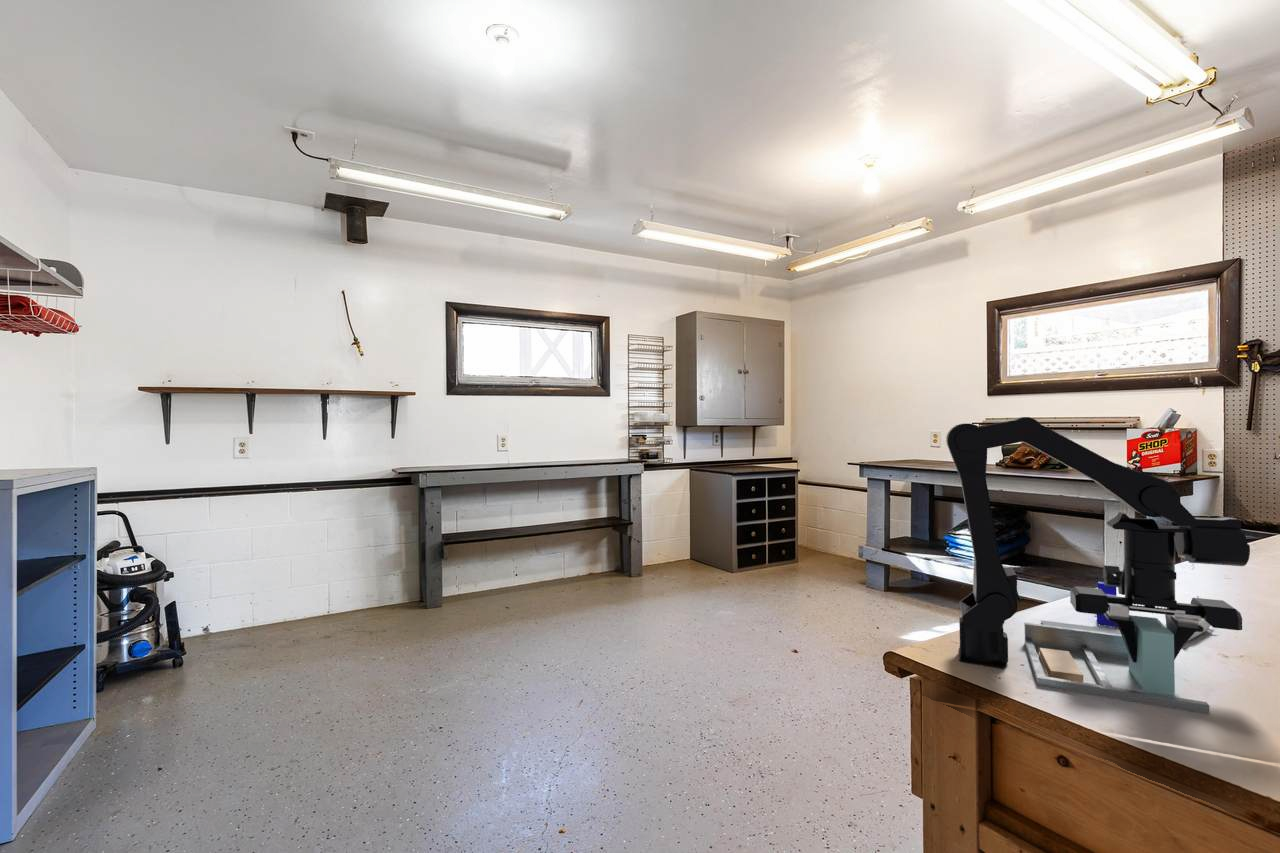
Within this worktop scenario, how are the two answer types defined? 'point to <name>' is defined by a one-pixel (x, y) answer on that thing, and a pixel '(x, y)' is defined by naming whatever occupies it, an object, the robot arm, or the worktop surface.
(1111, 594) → the blue piece
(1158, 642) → the pale teal block
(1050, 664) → the upper offcut
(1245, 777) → the worktop surface
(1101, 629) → the rubber mat
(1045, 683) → the rack
